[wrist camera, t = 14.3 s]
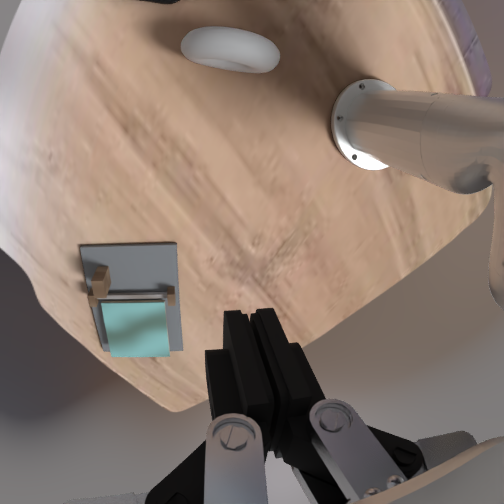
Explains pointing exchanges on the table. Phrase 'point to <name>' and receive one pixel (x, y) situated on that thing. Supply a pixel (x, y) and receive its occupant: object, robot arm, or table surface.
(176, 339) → the mat board
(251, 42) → the donut
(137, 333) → the tile
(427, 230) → the table surface
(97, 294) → the hinge stand
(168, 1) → the carrying case or bag
